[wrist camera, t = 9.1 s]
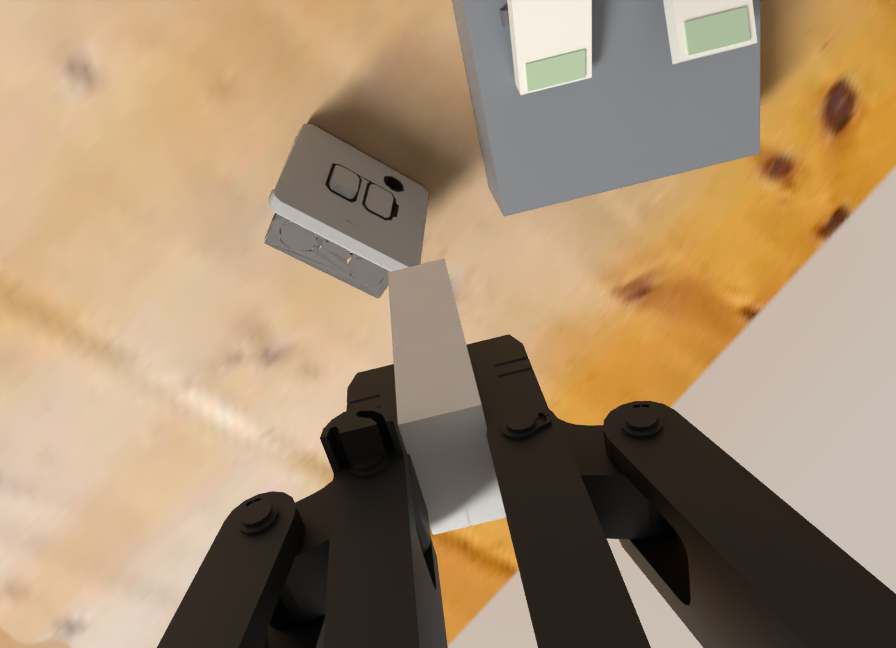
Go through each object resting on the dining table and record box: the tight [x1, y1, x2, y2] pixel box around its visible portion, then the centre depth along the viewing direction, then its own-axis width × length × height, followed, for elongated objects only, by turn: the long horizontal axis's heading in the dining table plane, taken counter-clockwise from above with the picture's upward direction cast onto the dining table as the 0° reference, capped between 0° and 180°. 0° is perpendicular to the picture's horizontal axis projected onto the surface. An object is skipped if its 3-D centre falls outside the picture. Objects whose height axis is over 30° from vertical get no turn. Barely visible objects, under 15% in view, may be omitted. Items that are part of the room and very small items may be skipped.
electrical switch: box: [265, 124, 429, 298], centre depth 43 cm, size 9×5×9 cm, turn 58°
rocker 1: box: [507, 0, 592, 95], centre depth 35 cm, size 8×4×1 cm, turn 14°
